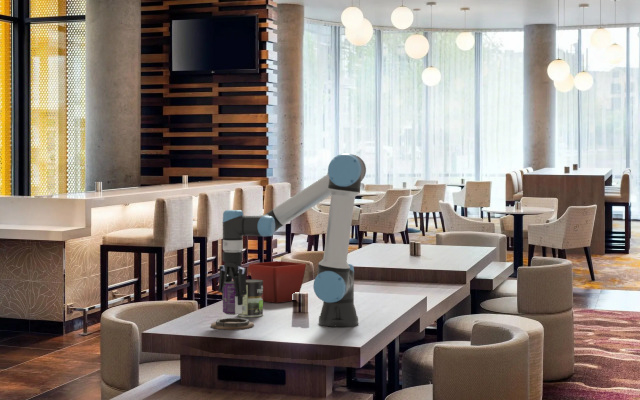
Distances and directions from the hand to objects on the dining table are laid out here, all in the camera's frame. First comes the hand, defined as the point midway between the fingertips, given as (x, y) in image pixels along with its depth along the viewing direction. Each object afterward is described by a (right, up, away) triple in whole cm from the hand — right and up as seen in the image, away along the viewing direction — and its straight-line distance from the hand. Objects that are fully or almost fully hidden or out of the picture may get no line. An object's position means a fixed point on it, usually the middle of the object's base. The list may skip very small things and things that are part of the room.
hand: (232, 312), depth 312 cm
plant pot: (+14, -4, +65) cm, 67 cm away
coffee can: (+5, -5, +25) cm, 26 cm away
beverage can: (0, -1, 0) cm, 1 cm away
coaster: (0, -5, 0) cm, 5 cm away
